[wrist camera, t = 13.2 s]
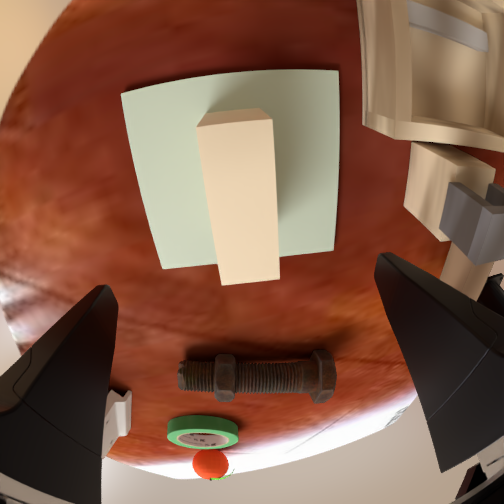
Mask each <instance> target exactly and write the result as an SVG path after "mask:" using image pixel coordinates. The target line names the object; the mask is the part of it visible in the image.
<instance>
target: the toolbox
mask: <svg viewBox="0 0 504 504" xmlns="http://www.w3.org/2000/svg"><path fill="white" fill-rule="evenodd" d="M356 1H357V10H358V19H359V30H360V43H361V59H362V92H363V117H362V125H364V126H366V127H369V128H371V129H373V130H376V131H378V132H380V133H382V134H384V135H387V136H389V137H391V138H393V139H400V140H415V141H427V142H437V143H446V144H455V145H462V146H469V147H476V148H482V149H488V150H494V151H499V152H504V0H356ZM495 171H496V169H494V168H493V167H491V166H489V165H488V164H486V163H484V162H482V161H480V160H479V159H477V158H475V157H473V156H471V155H469V154H467V153H465V152H463V151H461V150H459V149H457V148H455V147H453V146H451V145H443V144H433V143H422V142H412V144H411V154H410V164H409V172H408V180H407V187H406V194H405V200H404V207H405V208H406V209H407V210H408V211H410V212H411V213H412V214H413V215H414V216H415V217H416V218H417V219H418V220H419V221H420V222H421V223H422V224H423V225H424V226H425V227H426V228H427V229H428V230H429V231H430V232H431V233H432V234H433V235H434V236H435V237H436V238H437V239H438V240H439V241H440V242H442V241H449V240H451V241H452V242H453V243H454V244H455V245H456V246H457V247H458V248H459V249H460V250H461V251H462V252H463V253H464V254H465V255H466V256H467V257H468V259H469V260H470V261H471V262H472V263H473V264H474V265H475V266H477V265H481V264H485V263H490V262H494V261H498V260H501V259H504V188H502V187H501V186H499V185H498V184H493V181H494V176H495Z"/></svg>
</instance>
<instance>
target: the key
mask: <svg viewBox="0 0 504 504" xmlns="http://www.w3.org/2000/svg"><path fill="white" fill-rule="evenodd" d="M494 262H495V261H494ZM494 262H490V263H485V264H481V265H477V266H475V265H474V264H473V263H472V262H471V261H470V260H469V259H468V257H467V256H466V255H465V254H464V253H463V252H462V251H461V250H460V249H459V248H458V247H457V246H456V245H455V244H454V243H453V242H452V243H451V246H450V250H449V253H448V256H447V259H446V262H445V265H444V268H443V270H442V273H441V276H440V280H441V281H443V282H445V283H447V284H448V285H450V286H452V287H453V288H455V289H457V290H458V291H460V292H462V293H463V294H465V295H467V296H468V297H469V298H472V299H473V300H475V301H477V299H478V297H479V295H480V293H481V291H482V289H483V287H484V285H485V282H486V280H487V278H488V276H489V273H490V271H491V268H492V266H493V264H494Z"/></svg>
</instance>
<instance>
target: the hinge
mask: <svg viewBox="0 0 504 504" xmlns="http://www.w3.org/2000/svg"><path fill="white" fill-rule="evenodd" d="M131 401H132V391H129V390H128V391H127V393H126V394H125V396H124V397H121V396H120V395H119V394H117V393H116V392H114V391H113V390H111V391H108V394H107V402H106V411H105V420H104V432H103V445H102V457H101V458H102V459H104V458H105V456H106V455H107V453H108V452H109V450H110V449H111V447H112V446H113V444H114V443H115V441H116V439H117V438H118V437H119V436H126V435H127V434H128V432H129V430H130V429H131Z"/></svg>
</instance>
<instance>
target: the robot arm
mask: <svg viewBox="0 0 504 504" xmlns="http://www.w3.org/2000/svg"><path fill="white" fill-rule="evenodd" d="M503 277H504V275H503V274H502V273H500V274H497V275H493V276H490V277H488V278H487V280H486V282H485V285H484V287H483V289H482V291H481V293H480V295H479V297H478V299H477V301H475V300H473V299H472V298H469V297H468V296H467V295H465V294H463V293H462V292H460V291H458V290H457V289H455V288H453V287H452V286H450V285H448V284H447V283H445V282H443V281H441V280H440V279H438V278H436V277H434V276H433V275H431V274H429V273H427V272H426V271H424V270H422V269H420V268H418V267H417V266H415V265H413V264H411V263H409V262H408V261H406V260H404V259H402V258H400V257H398V256H396V255H395V254H393V253H391V252H386V253H380V254H379V255H378V258H377V263H376V267H375V272H374V278H375V282H376V285H377V288H378V290H379V293H380V296H381V299H382V303H383V306H384V309H385V312H386V315H387V317H388V320H389V322H390V325H391V327H392V329H393V332H394V334H395V336H396V339H397V341H398V344H399V346H400V348H401V351H402V353H403V356H404V359H405V361H406V364H407V366H408V369H409V372H410V374H411V377H412V380H413V382H414V385H415V388H416V391H417V394H418V396H419V399H420V402H421V405H422V408H423V411H424V414H425V418H426V420H427V425H428V428H429V431H430V435H431V438H432V441H433V445H434V448H435V452H436V456H437V460H438V464H439V468H440V471H441V473H443V472H445V471H447V470H449V469H451V468H453V467H455V466H457V465H458V464H460V463H462V462H464V461H466V460H467V459H469V458H471V457H472V456H474V455H476V454H477V456H478V459H479V461H480V462H479V463H477V464H476V465H474V466H472V467H471V468H469V469H468V470H467V473H466V475H465V478H464V480H463V482H462V485H461V487H460V489H459V491H458V494H457V496H456V498H455V499H456V500H455V501H454V502H452V503H450V504H504V290H503V289H502V288H501V287H500V283H501V281H502V279H503ZM117 318H118V303H117V300H116V298H115V296H114V294H113V292H112V290H111V288H110V286H109V285H98V286H96V287H95V288H94V289H93V290H91V291H90V292H89V293H88V294H87V295H86V296H85V297H84V298H82V299H81V300H80V301H79V302H78V303H77V304H76V305H75V306H73V307H72V308H71V309H70V310H69V311H68V312H67V313H66V314H65V315H64V316H63V317H61V318H60V319H59V320H58V321H57V322H56V323H55V324H54V325H53V326H52V327H51V328H50V329H49V330H48V331H47V332H46V333H45V334H44V335H43V336H42V337H41V338H39V339H38V340H37V341H36V342H35V343H34V344H33V345H32V348H31V347H30V348H29V349H28V350H27V351H26V352H25V353H24V354H23V355H22V356H21V357H20V358H19V360H17V362H15V364H13V365H12V366H11V367H10V368H9V369H8V370H7V371H6V372H5V373H4V374H3V375H1V376H0V504H101V469H102V468H101V467H102V458H101V457H102V445H103V432H104V420H105V411H106V402H107V394H108V387H109V380H110V373H111V367H112V361H113V355H114V349H115V340H116V328H117Z"/></svg>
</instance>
